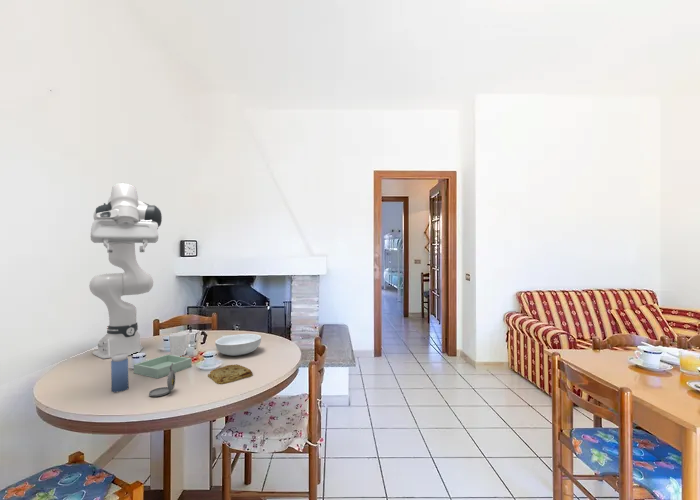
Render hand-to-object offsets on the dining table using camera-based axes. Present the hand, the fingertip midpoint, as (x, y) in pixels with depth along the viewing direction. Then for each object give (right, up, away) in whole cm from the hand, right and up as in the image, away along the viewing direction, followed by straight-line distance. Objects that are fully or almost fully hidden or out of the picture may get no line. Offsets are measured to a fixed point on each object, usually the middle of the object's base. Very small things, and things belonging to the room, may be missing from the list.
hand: (126, 251), depth 121 cm
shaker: (-3, -49, +2) cm, 49 cm away
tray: (+1, -49, +22) cm, 53 cm away
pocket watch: (+15, -49, -3) cm, 51 cm away
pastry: (+32, -49, +13) cm, 60 cm away
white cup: (-3, -49, +43) cm, 65 cm away
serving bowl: (+25, -49, +45) cm, 71 cm away
